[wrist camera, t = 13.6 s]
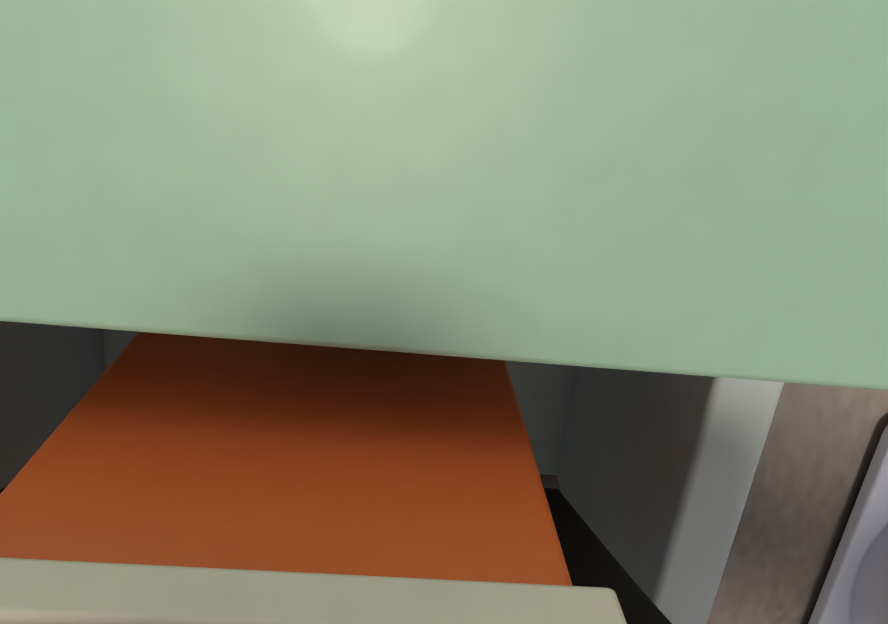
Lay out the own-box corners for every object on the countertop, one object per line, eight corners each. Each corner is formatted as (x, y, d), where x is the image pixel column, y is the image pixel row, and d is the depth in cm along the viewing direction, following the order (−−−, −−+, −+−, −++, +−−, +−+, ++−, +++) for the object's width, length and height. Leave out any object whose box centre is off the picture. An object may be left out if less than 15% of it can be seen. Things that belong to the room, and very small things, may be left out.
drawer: (556, 696, 18) (629, 1022, 12) (82, 678, 17) (-87, 1024, 11) (736, -81, 12) (1073, -183, 6) (-7, -181, 11) (-516, -430, 5)
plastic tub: (473, 616, 11) (523, 1051, 6) (149, 601, 11) (-50, 1057, 6) (519, 327, 9) (637, 641, 5) (133, 296, 9) (-172, 605, 4)
